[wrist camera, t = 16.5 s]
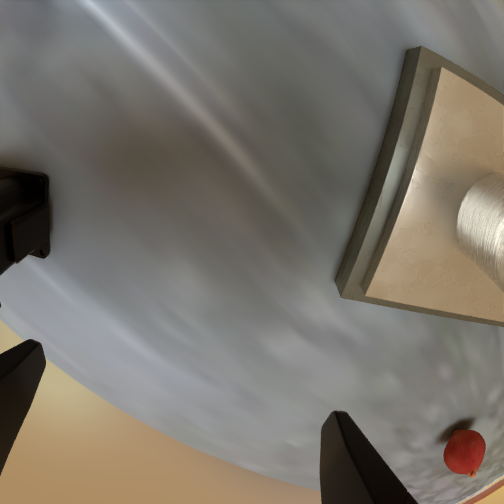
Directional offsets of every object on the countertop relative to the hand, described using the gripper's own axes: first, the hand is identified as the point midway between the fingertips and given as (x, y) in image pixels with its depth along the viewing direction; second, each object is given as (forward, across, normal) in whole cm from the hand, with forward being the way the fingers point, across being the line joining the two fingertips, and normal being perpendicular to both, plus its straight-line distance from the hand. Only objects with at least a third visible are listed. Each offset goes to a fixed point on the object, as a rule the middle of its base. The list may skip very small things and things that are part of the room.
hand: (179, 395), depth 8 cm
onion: (+13, -34, +20) cm, 42 cm away
